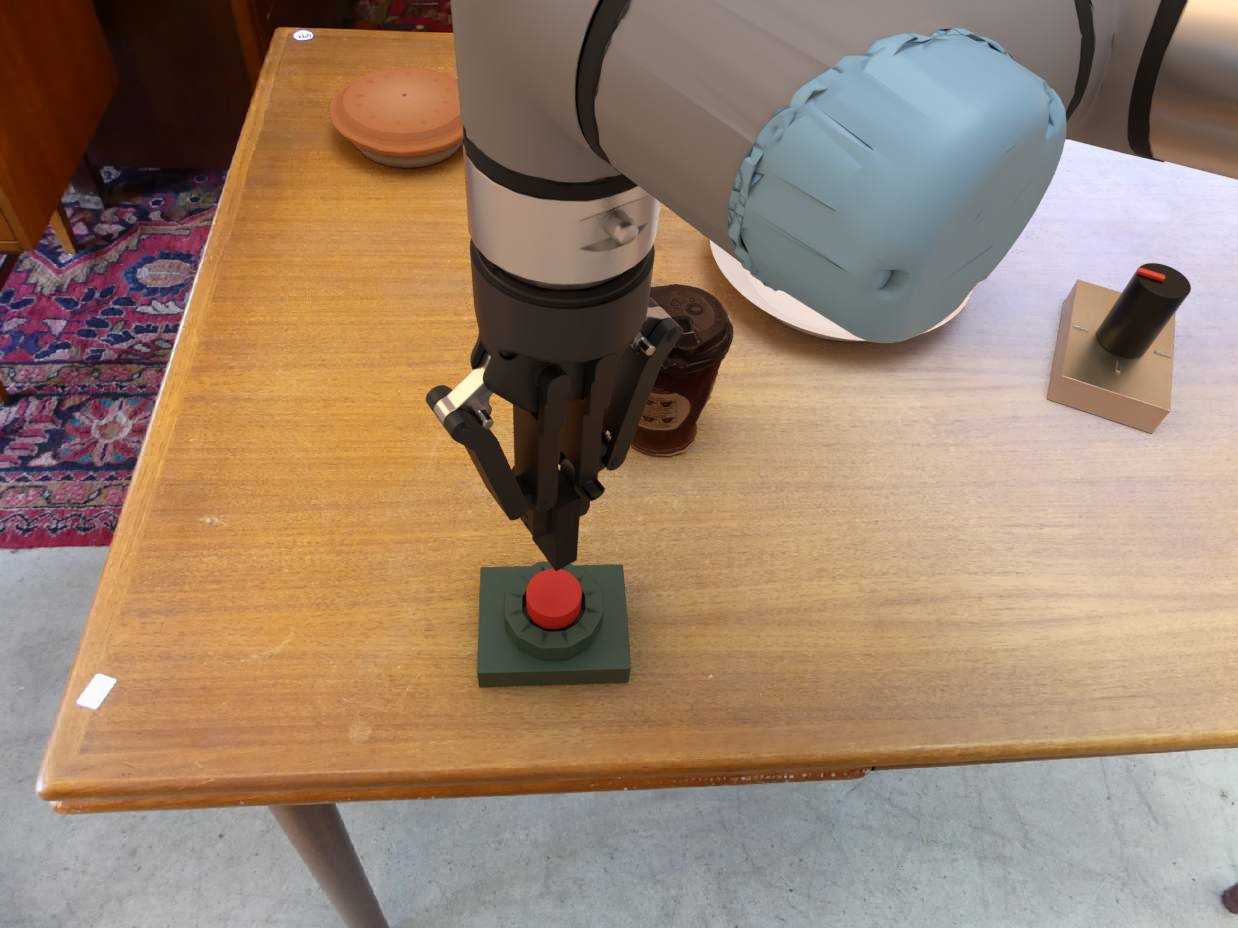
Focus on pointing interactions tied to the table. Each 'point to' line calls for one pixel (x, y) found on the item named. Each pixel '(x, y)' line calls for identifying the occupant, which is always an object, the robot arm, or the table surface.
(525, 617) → the button box
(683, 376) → the coffee cup
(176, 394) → the table surface
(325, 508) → the table surface
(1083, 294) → the panel
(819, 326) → the white plate
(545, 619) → the button
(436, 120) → the pie
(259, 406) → the table surface
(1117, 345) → the hob knob
